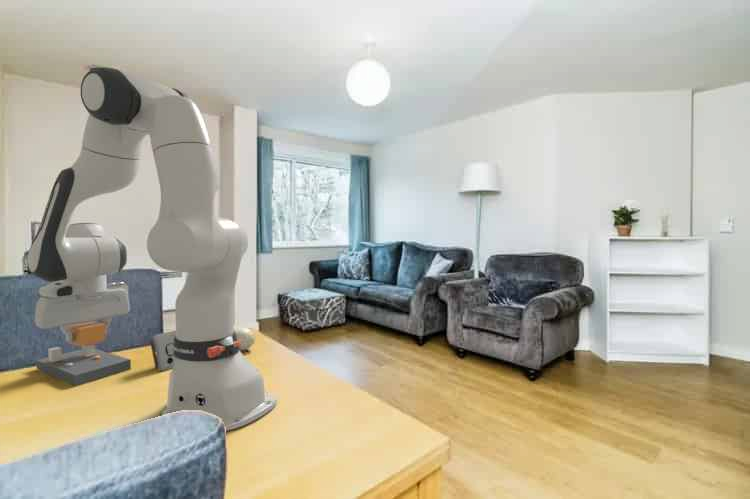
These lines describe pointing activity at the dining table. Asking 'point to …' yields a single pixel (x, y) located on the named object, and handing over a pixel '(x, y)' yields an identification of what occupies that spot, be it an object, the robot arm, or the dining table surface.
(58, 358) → the plain toggle
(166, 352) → the electrical switch
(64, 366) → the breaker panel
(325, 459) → the dining table surface
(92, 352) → the tagged toggle
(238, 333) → the baseball
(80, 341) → the cap
